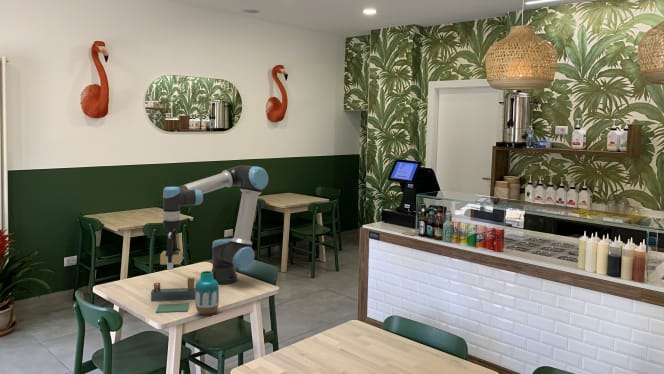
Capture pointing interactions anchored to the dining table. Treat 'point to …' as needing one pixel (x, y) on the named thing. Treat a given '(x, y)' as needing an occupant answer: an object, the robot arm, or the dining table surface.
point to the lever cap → (176, 257)
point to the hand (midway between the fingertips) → (171, 266)
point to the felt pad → (172, 308)
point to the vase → (206, 293)
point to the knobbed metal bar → (173, 292)
